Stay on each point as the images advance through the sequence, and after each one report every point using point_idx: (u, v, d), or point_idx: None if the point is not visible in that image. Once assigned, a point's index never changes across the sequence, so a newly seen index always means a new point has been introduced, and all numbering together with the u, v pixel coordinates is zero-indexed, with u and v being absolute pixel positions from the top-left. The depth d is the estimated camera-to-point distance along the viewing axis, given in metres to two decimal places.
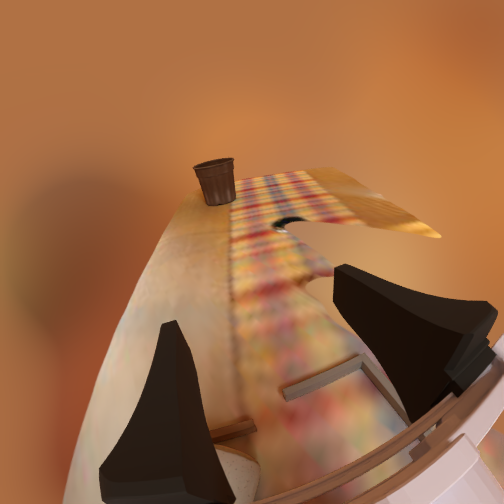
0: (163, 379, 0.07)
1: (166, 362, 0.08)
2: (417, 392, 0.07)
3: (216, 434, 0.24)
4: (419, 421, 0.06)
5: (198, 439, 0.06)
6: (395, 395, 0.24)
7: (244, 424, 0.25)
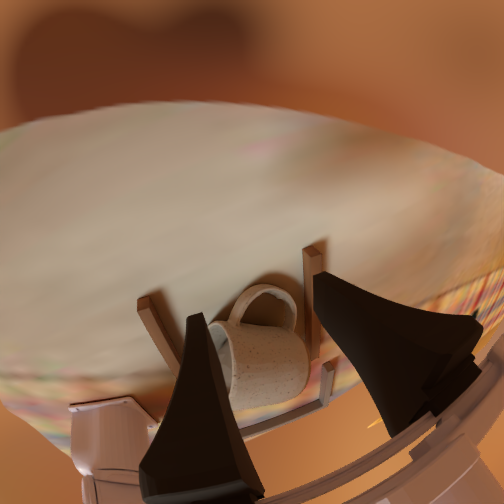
0: (197, 370, 0.07)
1: (198, 353, 0.08)
2: (396, 408, 0.07)
3: (314, 335, 0.26)
4: (419, 421, 0.06)
5: (233, 430, 0.07)
6: (283, 423, 0.36)
7: (315, 354, 0.28)
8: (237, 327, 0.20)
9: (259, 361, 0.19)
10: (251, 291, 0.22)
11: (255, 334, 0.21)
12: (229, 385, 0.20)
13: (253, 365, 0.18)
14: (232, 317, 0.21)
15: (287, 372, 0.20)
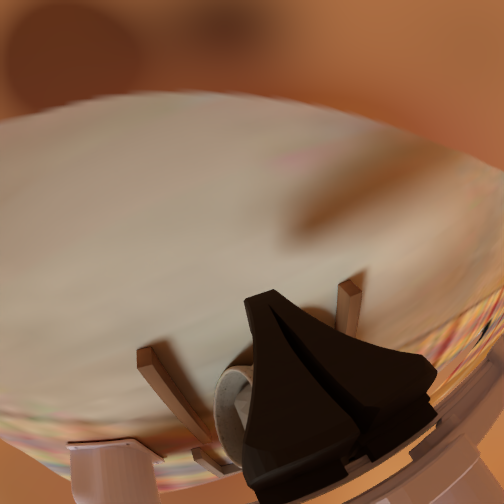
0: (274, 345, 0.08)
1: (270, 330, 0.09)
2: None
3: None
4: None
5: None
6: None
7: None
8: None
9: None
10: None
11: None
12: None
13: None
14: None
15: None
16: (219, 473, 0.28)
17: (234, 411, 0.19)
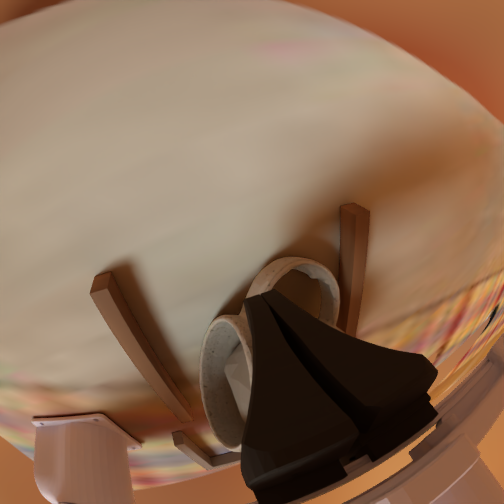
0: (273, 345, 0.08)
1: (269, 330, 0.09)
2: None
3: (348, 334, 0.19)
4: None
5: None
6: None
7: None
8: None
9: None
10: (274, 267, 0.14)
11: None
12: (246, 411, 0.13)
13: None
14: None
15: None
16: (207, 465, 0.25)
17: (225, 380, 0.17)
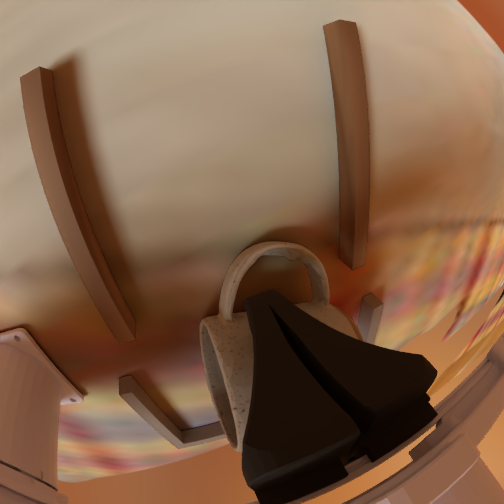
0: (274, 345, 0.08)
1: (270, 330, 0.09)
2: None
3: (359, 202, 0.14)
4: None
5: None
6: None
7: (360, 253, 0.15)
8: (230, 324, 0.12)
9: None
10: (240, 260, 0.13)
11: None
12: None
13: None
14: (221, 308, 0.13)
15: None
16: (175, 439, 0.19)
17: None
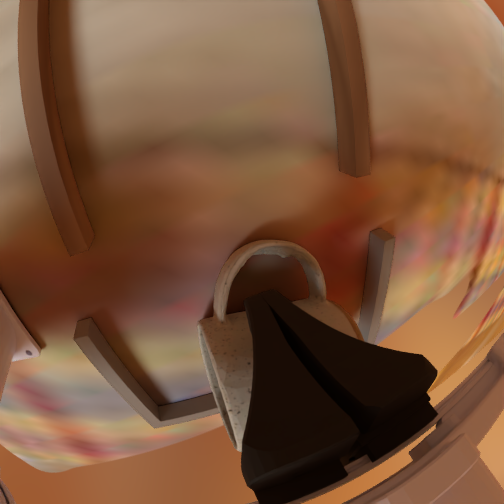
0: (274, 345, 0.08)
1: (269, 330, 0.09)
2: None
3: (356, 93, 0.11)
4: None
5: None
6: None
7: (363, 157, 0.12)
8: (224, 325, 0.12)
9: None
10: (231, 261, 0.13)
11: None
12: None
13: None
14: (215, 310, 0.13)
15: None
16: (149, 414, 0.17)
17: None
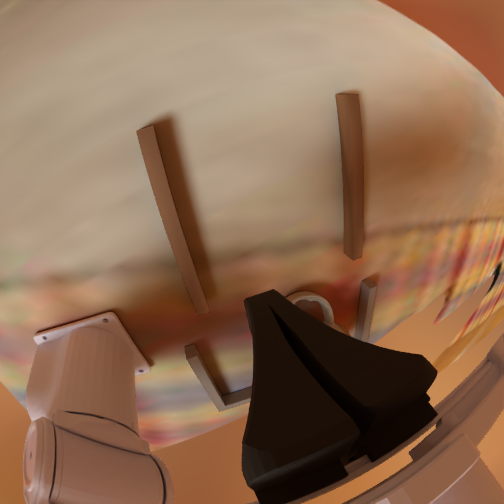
0: (274, 345, 0.08)
1: (270, 330, 0.09)
2: None
3: (357, 215, 0.21)
4: None
5: None
6: None
7: (358, 249, 0.23)
8: None
9: None
10: None
11: None
12: None
13: None
14: None
15: None
16: (219, 401, 0.27)
17: None
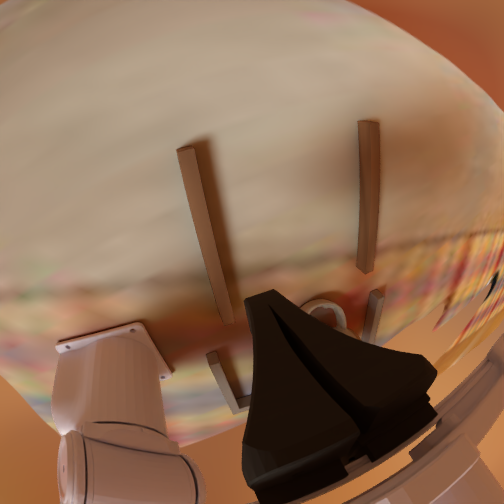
0: (274, 345, 0.08)
1: (270, 330, 0.09)
2: None
3: (371, 233, 0.22)
4: None
5: None
6: None
7: (370, 263, 0.24)
8: None
9: None
10: None
11: None
12: None
13: None
14: None
15: None
16: (234, 404, 0.28)
17: None
